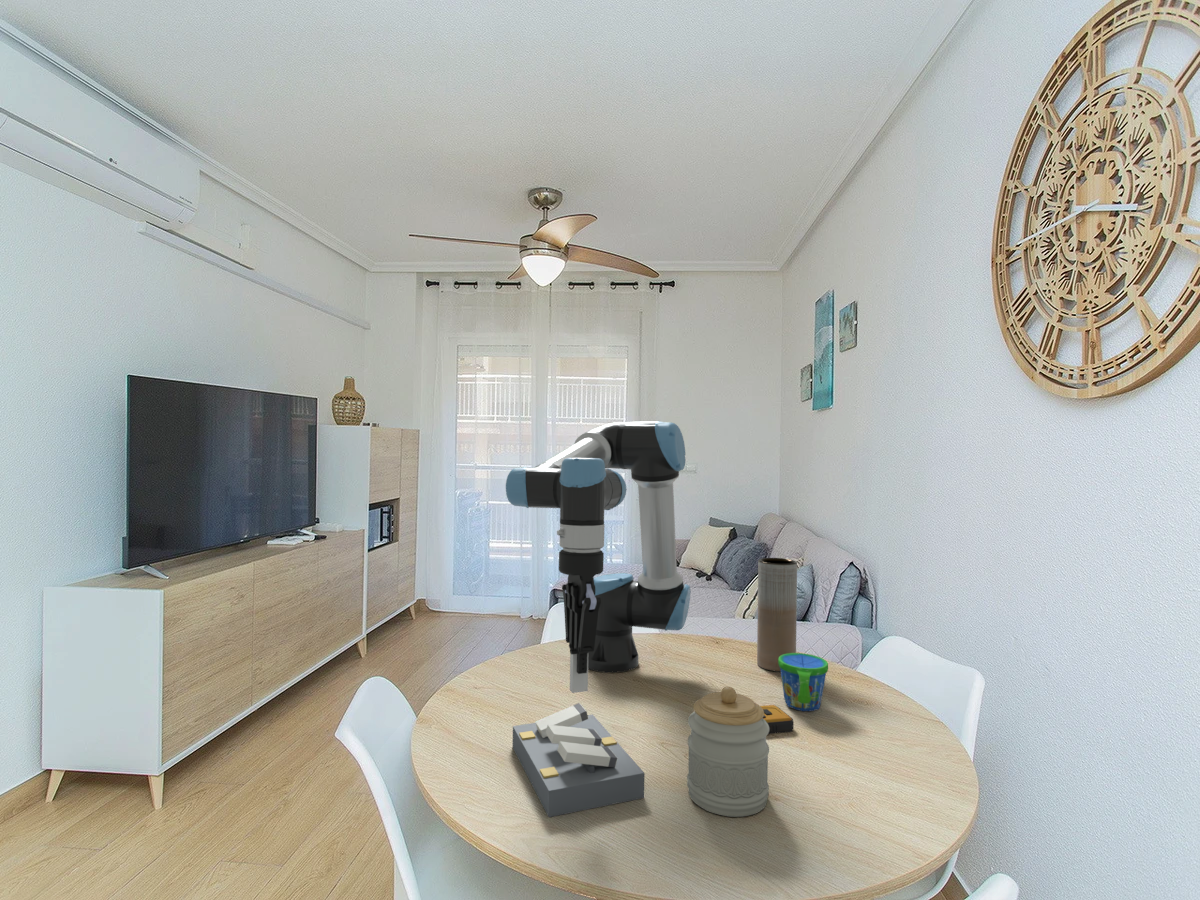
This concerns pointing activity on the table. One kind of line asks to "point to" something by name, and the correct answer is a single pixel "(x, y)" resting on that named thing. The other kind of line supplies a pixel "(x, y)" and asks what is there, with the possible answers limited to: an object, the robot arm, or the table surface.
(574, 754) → the rocker near
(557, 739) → the rocker mid
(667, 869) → the table surface
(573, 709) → the rocker far
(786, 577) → the vase
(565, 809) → the switch unit
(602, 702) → the table surface
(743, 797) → the jar
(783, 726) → the electronic device
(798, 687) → the snack cup
